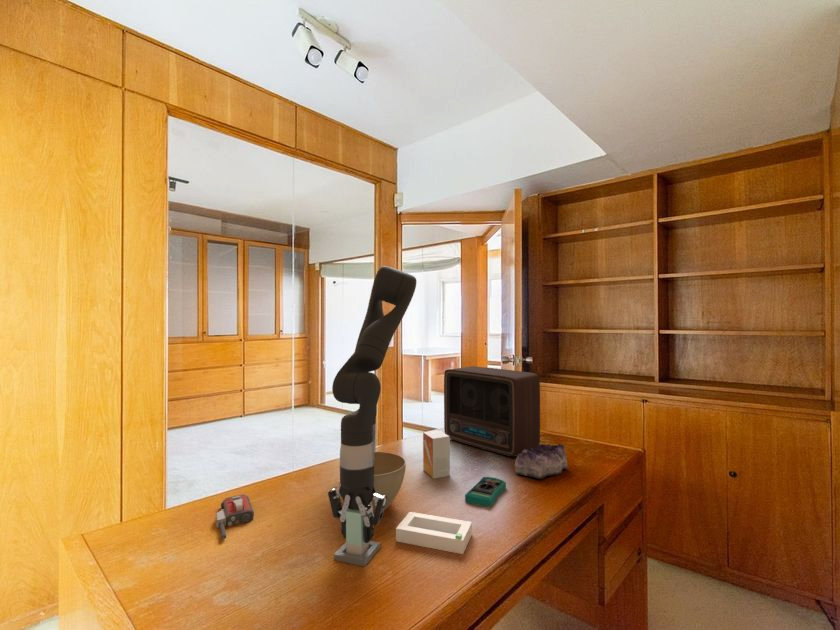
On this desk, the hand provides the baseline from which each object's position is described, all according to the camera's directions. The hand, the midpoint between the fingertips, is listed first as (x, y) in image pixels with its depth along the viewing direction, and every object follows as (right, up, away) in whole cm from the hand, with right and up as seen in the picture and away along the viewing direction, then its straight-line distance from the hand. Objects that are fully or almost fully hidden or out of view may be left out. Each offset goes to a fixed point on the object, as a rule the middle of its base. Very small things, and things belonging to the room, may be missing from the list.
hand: (357, 538), depth 93 cm
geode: (+55, -3, +48) cm, 73 cm away
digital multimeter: (+33, -4, +30) cm, 45 cm away
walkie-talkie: (-34, -4, +16) cm, 38 cm away
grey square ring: (0, -3, 0) cm, 3 cm away
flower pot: (+1, -4, +23) cm, 23 cm away
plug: (0, -3, 0) cm, 3 cm away
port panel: (+17, -3, +6) cm, 19 cm away
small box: (+19, -3, +47) cm, 51 cm away
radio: (+41, -3, +76) cm, 87 cm away
